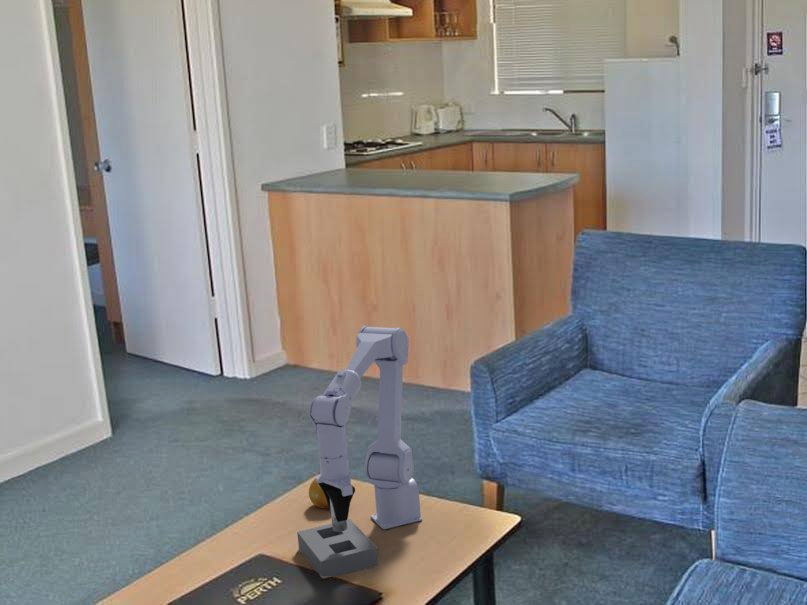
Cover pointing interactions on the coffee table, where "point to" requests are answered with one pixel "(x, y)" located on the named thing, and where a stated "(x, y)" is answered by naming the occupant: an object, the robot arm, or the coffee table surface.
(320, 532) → the hole board
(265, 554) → the coffee table surface
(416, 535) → the coffee table surface
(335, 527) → the pin
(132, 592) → the coffee table surface
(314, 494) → the fruit
